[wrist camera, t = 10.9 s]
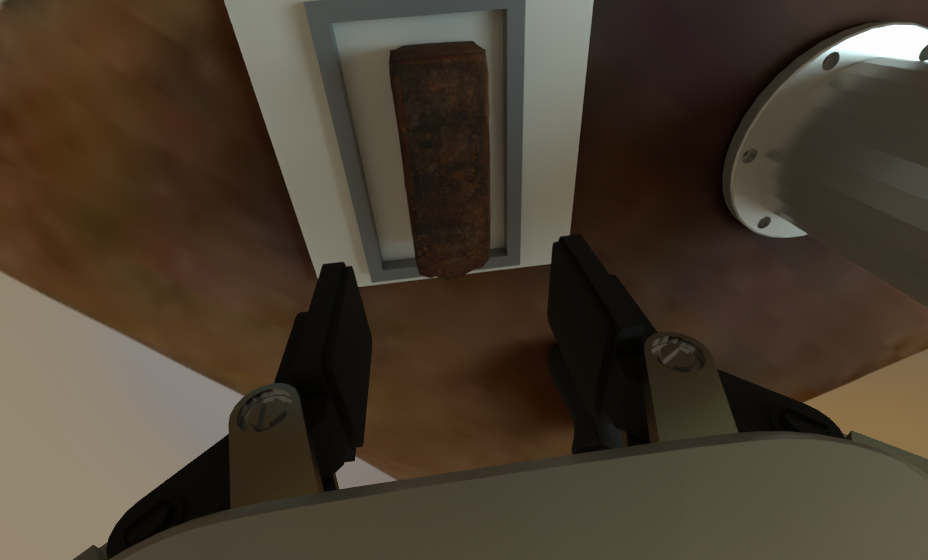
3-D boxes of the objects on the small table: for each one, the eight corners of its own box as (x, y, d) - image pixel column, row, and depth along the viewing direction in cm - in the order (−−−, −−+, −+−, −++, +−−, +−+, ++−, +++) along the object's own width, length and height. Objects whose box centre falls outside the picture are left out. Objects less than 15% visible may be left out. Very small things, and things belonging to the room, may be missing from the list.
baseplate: (588, -46, 19) (607, -50, 17) (561, 252, 28) (572, 270, 26) (227, -19, 18) (207, -19, 16) (325, 280, 27) (319, 301, 25)
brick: (388, 44, 19) (384, 59, 15) (474, 38, 19) (491, 52, 15) (415, 244, 25) (417, 290, 21) (479, 237, 25) (492, 282, 21)
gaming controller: (651, 400, 39) (715, 506, 31) (596, 427, 41) (643, 536, 33) (588, 317, 32) (651, 428, 24) (524, 354, 34) (561, 471, 26)
